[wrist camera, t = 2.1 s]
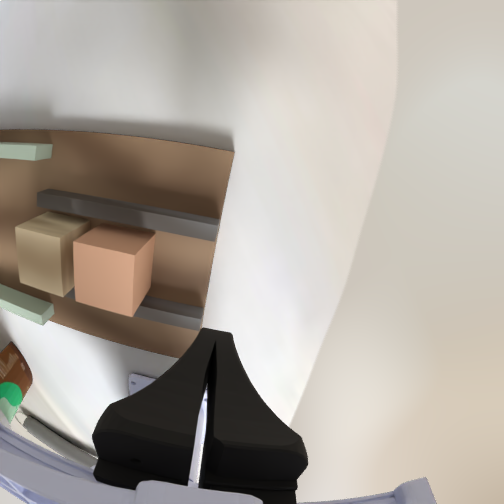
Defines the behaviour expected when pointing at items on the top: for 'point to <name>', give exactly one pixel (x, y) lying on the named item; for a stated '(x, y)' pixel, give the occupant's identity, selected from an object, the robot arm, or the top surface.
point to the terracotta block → (113, 267)
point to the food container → (12, 382)
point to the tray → (4, 295)
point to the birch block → (48, 251)
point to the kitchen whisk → (57, 442)
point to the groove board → (124, 223)
